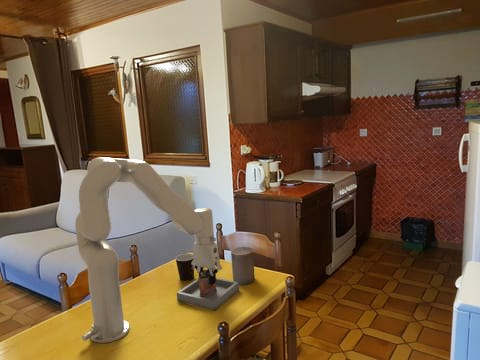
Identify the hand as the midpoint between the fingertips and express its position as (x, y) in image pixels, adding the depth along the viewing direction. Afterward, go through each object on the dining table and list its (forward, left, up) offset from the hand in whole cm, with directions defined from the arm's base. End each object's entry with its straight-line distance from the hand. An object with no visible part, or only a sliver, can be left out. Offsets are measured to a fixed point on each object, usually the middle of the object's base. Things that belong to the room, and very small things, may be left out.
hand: (207, 282), depth 146 cm
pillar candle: (+18, -6, -6) cm, 20 cm away
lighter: (0, 0, -5) cm, 5 cm away
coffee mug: (+8, +19, -6) cm, 21 cm away
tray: (0, 0, -6) cm, 6 cm away
